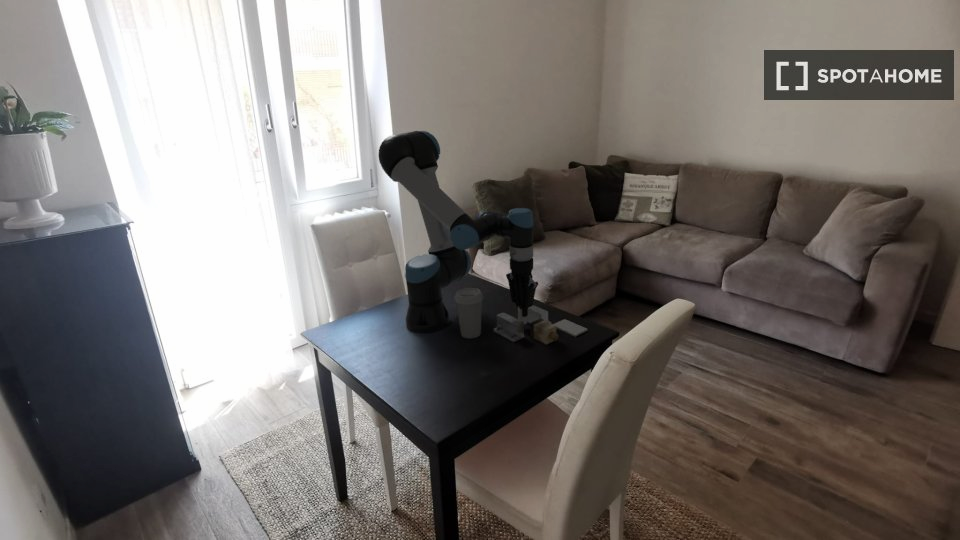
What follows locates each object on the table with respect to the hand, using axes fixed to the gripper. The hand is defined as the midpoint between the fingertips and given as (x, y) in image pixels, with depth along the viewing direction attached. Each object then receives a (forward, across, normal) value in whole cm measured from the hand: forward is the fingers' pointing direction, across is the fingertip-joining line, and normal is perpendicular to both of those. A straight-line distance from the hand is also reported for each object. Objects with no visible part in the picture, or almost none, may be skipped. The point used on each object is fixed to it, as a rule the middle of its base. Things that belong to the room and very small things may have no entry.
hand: (522, 323), depth 164 cm
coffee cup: (+2, -9, -15) cm, 18 cm away
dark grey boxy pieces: (+2, 0, 0) cm, 2 cm away
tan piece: (+2, +10, 0) cm, 10 cm away
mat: (+2, +11, +11) cm, 16 cm away
